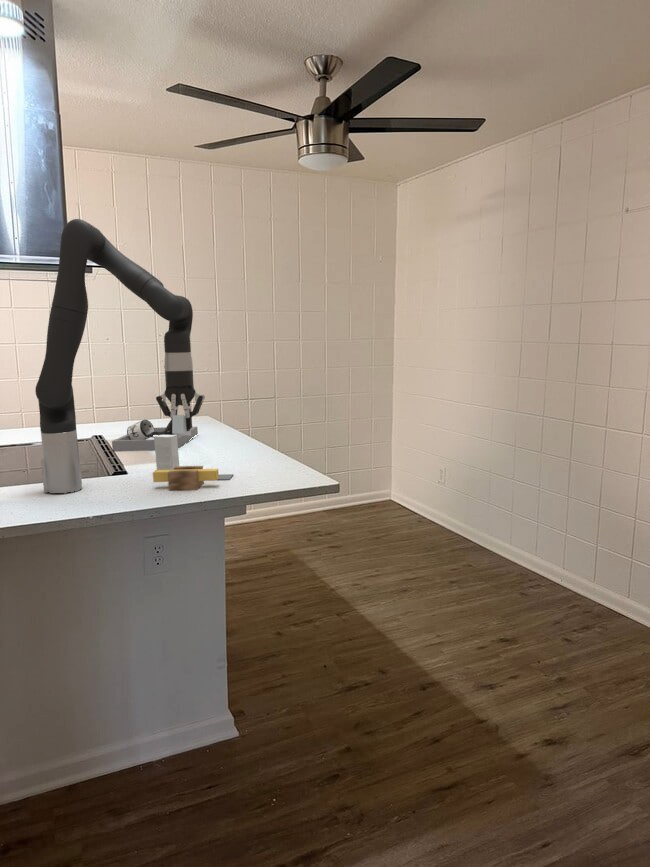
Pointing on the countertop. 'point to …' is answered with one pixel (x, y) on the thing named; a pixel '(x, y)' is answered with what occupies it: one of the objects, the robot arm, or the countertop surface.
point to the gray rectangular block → (180, 425)
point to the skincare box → (166, 452)
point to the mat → (225, 476)
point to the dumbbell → (146, 430)
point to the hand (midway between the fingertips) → (182, 430)
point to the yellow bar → (202, 473)
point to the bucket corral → (147, 441)
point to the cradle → (184, 479)
